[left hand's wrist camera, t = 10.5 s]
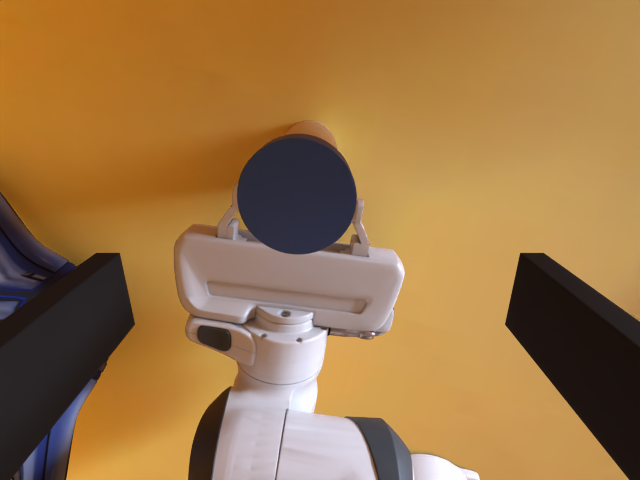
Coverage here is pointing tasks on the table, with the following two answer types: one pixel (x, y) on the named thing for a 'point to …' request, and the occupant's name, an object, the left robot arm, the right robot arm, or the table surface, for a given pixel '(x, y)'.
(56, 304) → the left robot arm
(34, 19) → the table surface
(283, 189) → the lid
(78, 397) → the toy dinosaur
